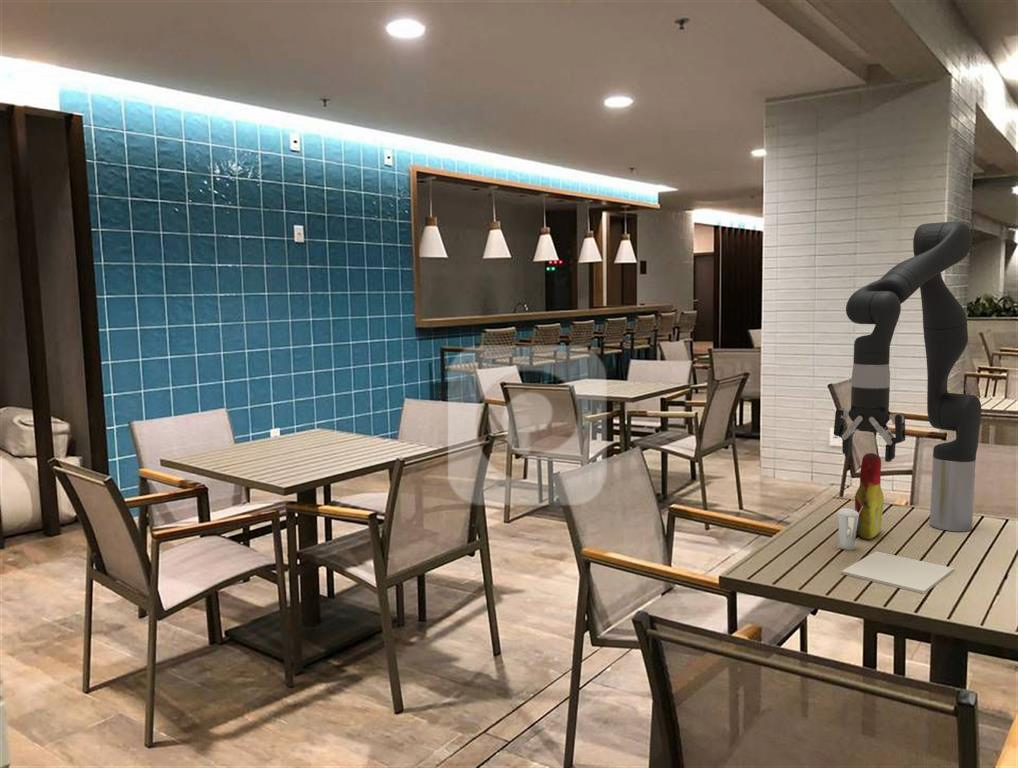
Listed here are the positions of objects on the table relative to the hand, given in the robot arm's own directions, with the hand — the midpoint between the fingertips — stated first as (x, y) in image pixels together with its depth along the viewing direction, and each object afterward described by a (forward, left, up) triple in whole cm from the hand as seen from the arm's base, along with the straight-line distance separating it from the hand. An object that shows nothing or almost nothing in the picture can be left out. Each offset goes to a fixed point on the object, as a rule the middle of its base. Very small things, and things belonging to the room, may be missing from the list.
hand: (867, 458), depth 174 cm
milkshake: (-4, -5, -22) cm, 23 cm away
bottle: (-17, -6, -22) cm, 29 cm away
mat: (+5, +9, -22) cm, 24 cm away
